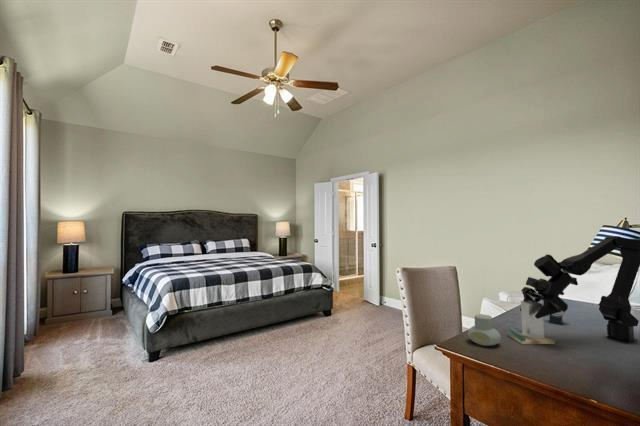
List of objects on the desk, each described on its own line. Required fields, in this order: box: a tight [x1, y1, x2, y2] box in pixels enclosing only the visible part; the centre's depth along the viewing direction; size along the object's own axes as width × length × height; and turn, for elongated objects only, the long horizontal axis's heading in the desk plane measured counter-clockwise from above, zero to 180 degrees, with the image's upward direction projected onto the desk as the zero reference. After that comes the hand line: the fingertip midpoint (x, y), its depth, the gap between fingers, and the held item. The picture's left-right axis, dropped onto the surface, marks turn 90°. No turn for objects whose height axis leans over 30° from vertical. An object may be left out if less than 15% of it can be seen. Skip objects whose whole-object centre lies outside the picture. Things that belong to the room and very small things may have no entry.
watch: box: [548, 310, 567, 326], centre depth 138 cm, size 6×8×11 cm
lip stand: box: [506, 327, 556, 345], centre depth 118 cm, size 12×9×3 cm
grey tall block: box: [520, 300, 545, 339], centre depth 118 cm, size 5×5×14 cm
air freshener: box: [467, 313, 502, 347], centre depth 115 cm, size 11×8×10 cm
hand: (528, 314), depth 118 cm, fingers open, 9 cm apart
